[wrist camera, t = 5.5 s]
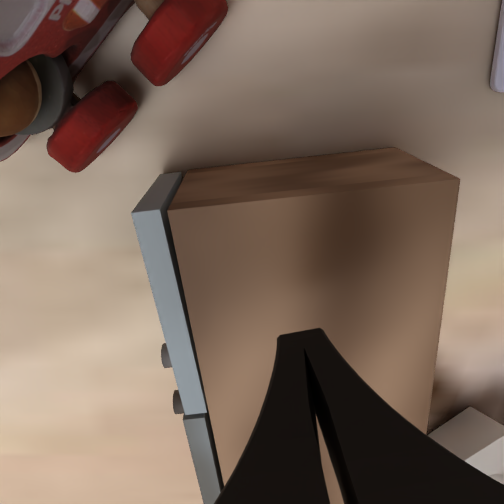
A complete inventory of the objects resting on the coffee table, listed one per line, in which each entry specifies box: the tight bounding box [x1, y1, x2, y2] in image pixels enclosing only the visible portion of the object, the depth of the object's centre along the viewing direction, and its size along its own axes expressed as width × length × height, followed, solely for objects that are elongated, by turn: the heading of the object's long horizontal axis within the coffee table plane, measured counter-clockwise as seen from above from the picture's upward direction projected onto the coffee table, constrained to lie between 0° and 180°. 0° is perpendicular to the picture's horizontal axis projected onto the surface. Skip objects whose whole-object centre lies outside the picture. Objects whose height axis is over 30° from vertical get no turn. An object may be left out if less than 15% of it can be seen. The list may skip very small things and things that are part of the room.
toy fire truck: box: [0, 0, 228, 173], centre depth 11 cm, size 7×12×10 cm, turn 133°
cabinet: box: [167, 147, 460, 504], centre depth 20 cm, size 12×20×6 cm, turn 6°
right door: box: [131, 172, 208, 415], centre depth 18 cm, size 2×10×6 cm, turn 7°
